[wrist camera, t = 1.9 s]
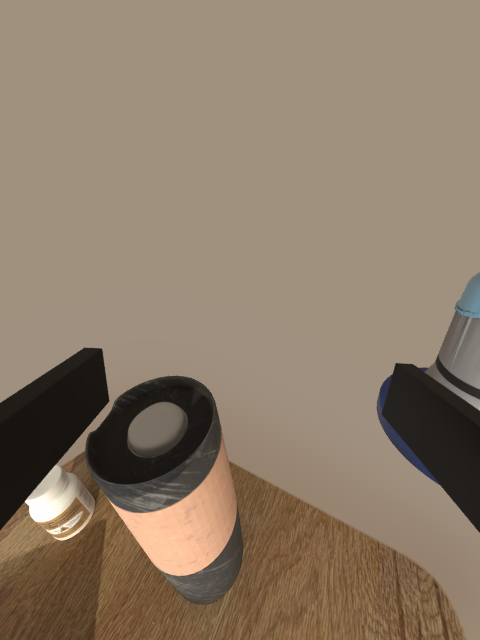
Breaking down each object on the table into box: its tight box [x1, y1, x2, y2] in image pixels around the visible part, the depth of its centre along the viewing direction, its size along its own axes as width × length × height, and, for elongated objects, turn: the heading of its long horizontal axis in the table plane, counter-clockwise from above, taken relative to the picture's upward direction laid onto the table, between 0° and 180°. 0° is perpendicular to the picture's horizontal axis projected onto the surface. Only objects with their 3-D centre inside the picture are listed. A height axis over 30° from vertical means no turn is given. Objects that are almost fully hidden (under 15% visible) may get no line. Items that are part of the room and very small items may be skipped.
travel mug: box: [85, 376, 243, 605], centre depth 19 cm, size 8×8×20 cm
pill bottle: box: [25, 464, 95, 540], centre depth 25 cm, size 4×4×8 cm
